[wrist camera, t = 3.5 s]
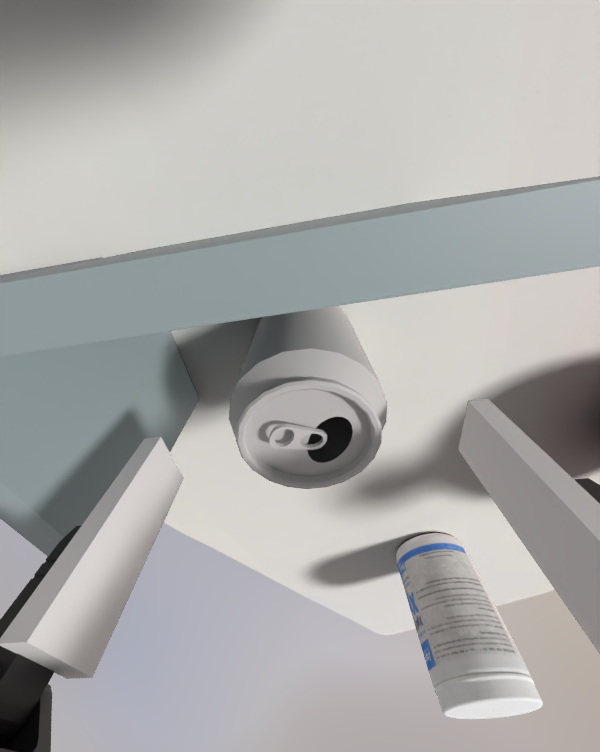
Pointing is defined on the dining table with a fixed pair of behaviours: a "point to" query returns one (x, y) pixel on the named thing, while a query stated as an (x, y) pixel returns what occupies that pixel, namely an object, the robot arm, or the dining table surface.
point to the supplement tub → (462, 632)
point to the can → (307, 401)
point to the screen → (226, 304)
